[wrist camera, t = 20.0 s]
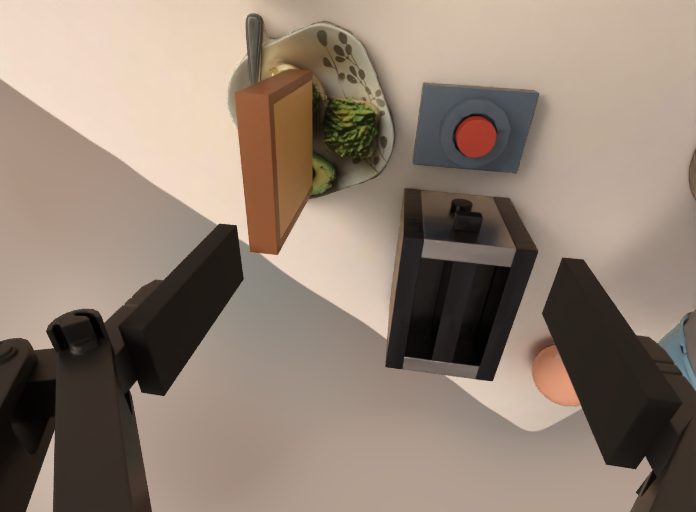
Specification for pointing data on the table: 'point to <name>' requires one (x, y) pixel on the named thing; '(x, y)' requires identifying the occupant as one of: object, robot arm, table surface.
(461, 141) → the stop button
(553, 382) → the toy ball
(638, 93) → the table surface
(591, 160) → the table surface
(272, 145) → the toast
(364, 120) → the salad plate
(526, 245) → the toaster
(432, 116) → the button block
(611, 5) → the table surface
